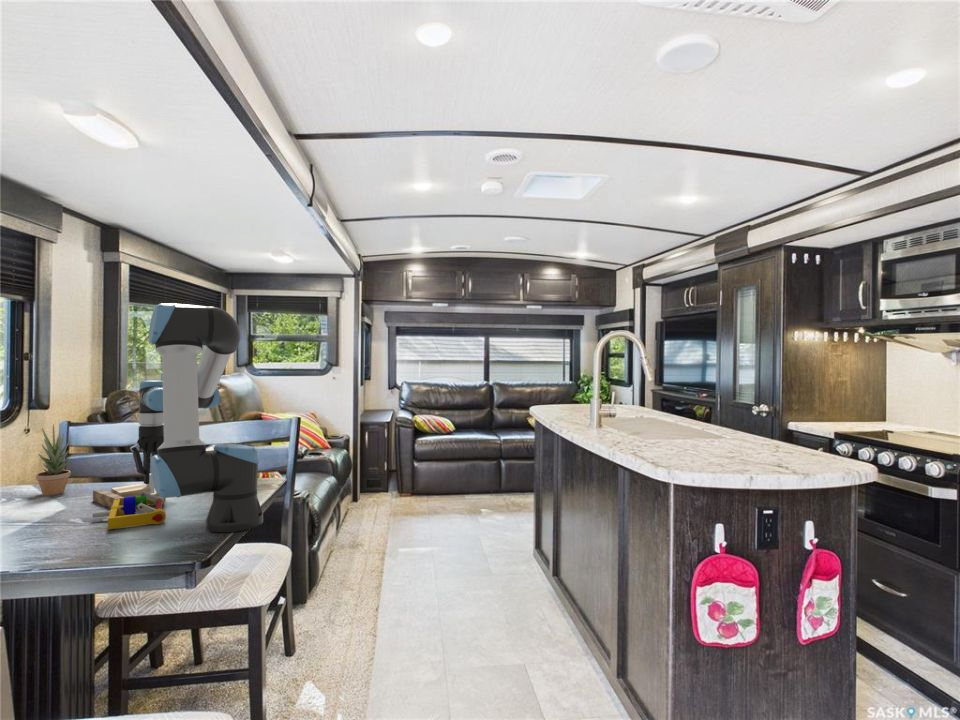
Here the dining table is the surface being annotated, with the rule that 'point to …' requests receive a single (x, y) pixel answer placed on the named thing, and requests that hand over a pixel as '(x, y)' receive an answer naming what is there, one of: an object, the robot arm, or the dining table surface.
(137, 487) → the block
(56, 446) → the potted plant
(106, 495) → the board
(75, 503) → the dining table surface
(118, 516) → the mechanical clamp
